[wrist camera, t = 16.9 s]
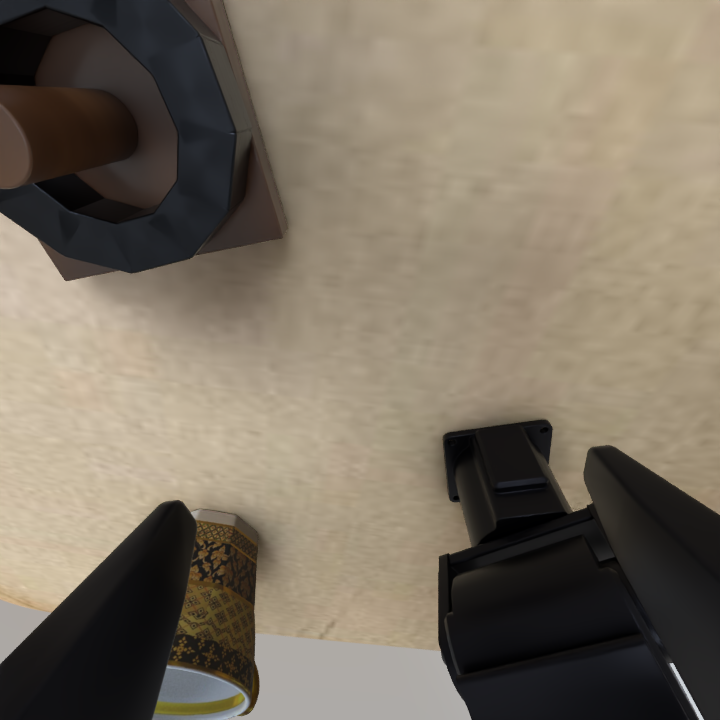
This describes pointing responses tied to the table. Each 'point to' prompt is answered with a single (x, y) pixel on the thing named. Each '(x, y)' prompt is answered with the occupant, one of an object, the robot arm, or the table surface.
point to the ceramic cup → (215, 627)
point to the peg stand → (120, 134)
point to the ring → (188, 112)
